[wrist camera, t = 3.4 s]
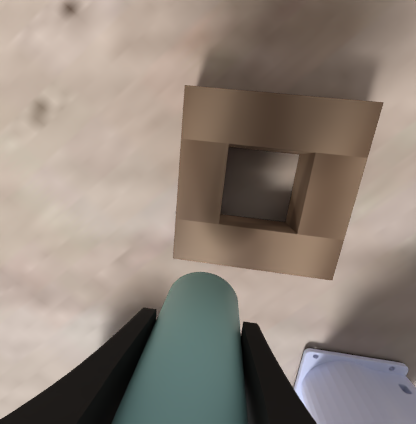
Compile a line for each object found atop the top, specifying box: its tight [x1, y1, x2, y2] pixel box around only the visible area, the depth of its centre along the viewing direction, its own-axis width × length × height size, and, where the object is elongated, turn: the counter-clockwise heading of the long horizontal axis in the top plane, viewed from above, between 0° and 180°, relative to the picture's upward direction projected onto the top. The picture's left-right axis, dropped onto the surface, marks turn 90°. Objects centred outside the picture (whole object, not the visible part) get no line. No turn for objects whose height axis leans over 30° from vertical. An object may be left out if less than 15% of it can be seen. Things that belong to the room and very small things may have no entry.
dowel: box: [111, 272, 248, 424], centre depth 8 cm, size 4×4×7 cm
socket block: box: [173, 85, 383, 280], centre depth 15 cm, size 12×12×3 cm
